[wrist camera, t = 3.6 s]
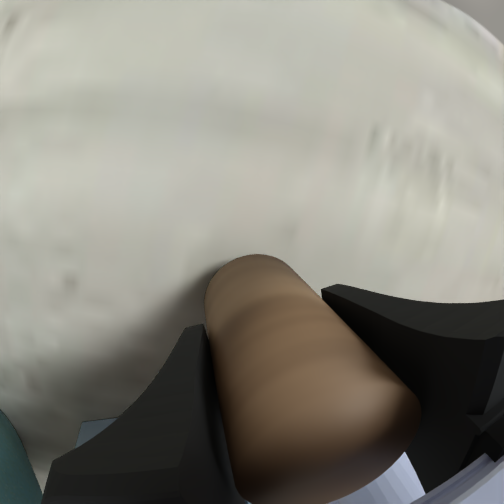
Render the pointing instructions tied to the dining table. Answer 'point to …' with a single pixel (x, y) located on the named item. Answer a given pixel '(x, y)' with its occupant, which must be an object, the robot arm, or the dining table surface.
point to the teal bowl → (15, 469)
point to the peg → (299, 389)
